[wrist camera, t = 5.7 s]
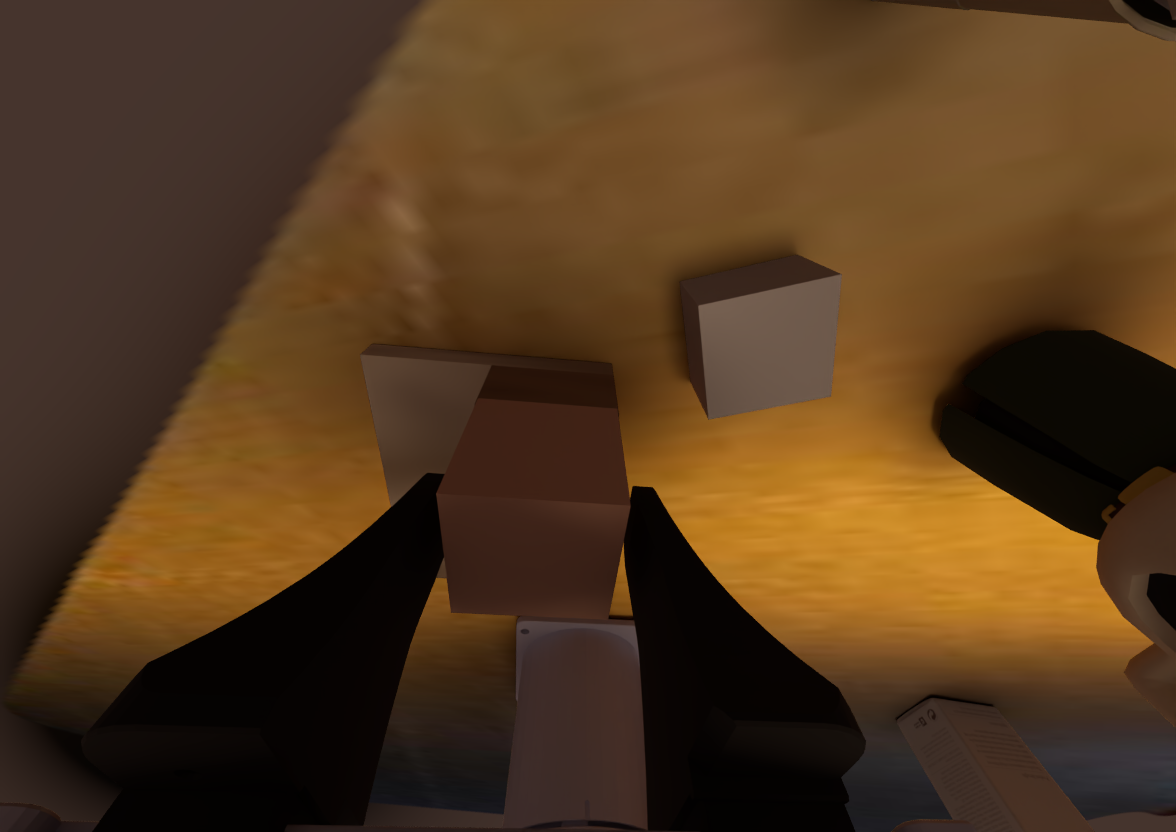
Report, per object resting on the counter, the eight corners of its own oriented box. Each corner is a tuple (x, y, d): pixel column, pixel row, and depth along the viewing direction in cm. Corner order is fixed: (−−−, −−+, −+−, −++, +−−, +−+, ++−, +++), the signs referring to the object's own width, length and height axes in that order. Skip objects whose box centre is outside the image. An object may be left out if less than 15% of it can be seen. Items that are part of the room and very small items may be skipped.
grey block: (792, 359, 16) (830, 396, 14) (689, 379, 17) (708, 419, 14) (795, 253, 14) (841, 274, 12) (678, 280, 15) (698, 305, 12)
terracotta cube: (601, 509, 15) (607, 619, 11) (483, 502, 15) (451, 612, 11) (617, 408, 13) (630, 505, 9) (478, 398, 13) (435, 493, 9)
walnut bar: (593, 514, 19) (595, 565, 17) (495, 508, 19) (483, 559, 16) (613, 374, 15) (618, 414, 13) (491, 365, 15) (474, 404, 13)
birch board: (584, 568, 22) (584, 585, 22) (412, 559, 22) (405, 575, 21) (611, 363, 16) (613, 374, 15) (372, 343, 16) (360, 354, 15)
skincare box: (892, 720, 32) (1039, 988, 22) (933, 691, 30) (1119, 975, 19) (957, 730, 33) (1129, 991, 23) (1002, 703, 31) (1215, 978, 20)
